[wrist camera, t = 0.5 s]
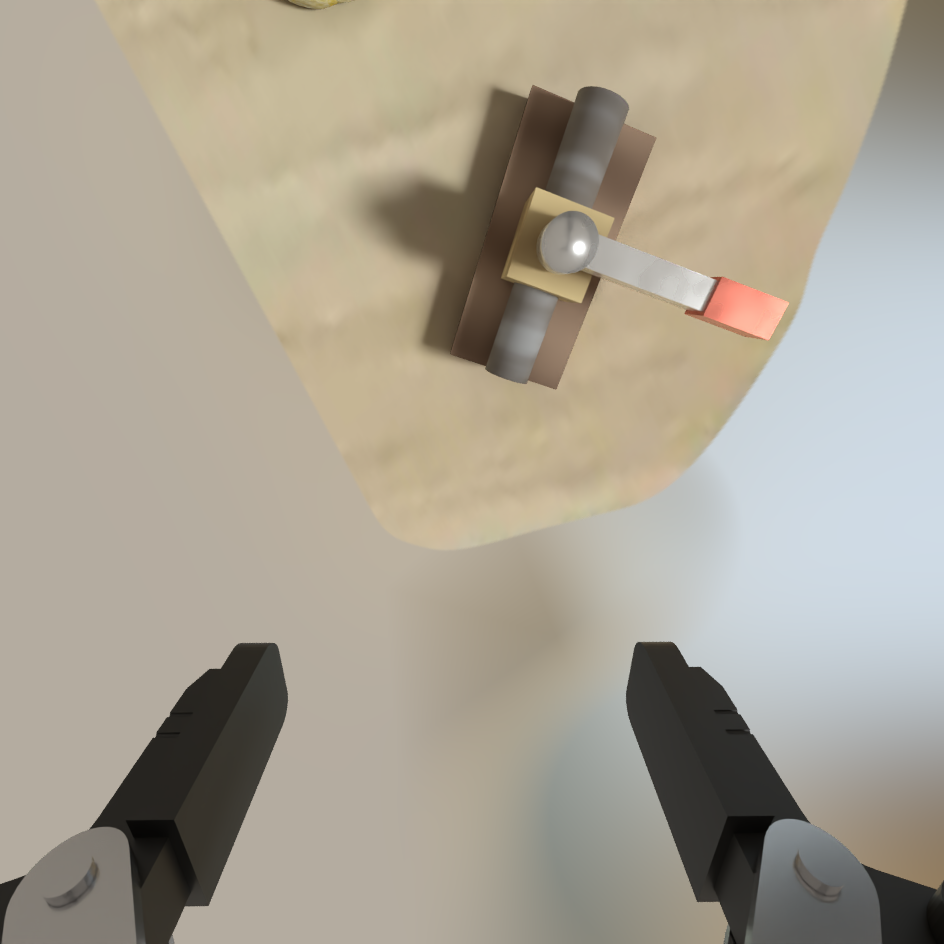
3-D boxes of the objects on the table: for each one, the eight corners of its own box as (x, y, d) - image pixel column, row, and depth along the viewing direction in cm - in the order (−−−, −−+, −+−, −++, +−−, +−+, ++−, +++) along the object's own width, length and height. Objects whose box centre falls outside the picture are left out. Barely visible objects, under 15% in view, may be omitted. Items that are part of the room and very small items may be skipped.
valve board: (528, 98, 28) (547, 40, 22) (644, 147, 29) (696, 106, 23) (451, 350, 34) (448, 364, 27) (551, 384, 35) (571, 405, 28)
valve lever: (528, 264, 25) (534, 262, 23) (547, 209, 24) (556, 201, 22) (740, 343, 27) (764, 347, 25) (766, 294, 26) (793, 294, 24)
